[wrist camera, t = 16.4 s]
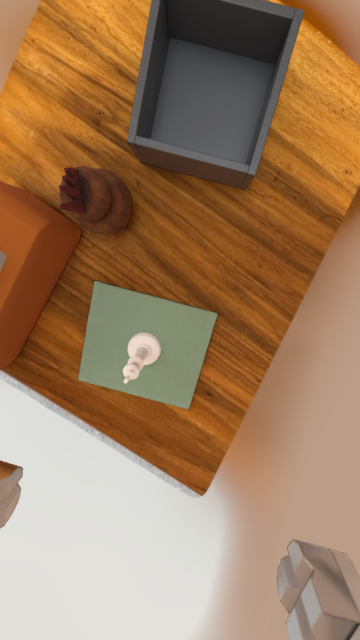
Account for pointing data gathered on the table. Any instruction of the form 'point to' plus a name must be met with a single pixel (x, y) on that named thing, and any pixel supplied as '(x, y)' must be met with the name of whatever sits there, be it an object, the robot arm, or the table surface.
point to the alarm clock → (28, 263)
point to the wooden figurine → (96, 199)
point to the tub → (211, 85)
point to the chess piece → (141, 354)
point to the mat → (156, 319)
